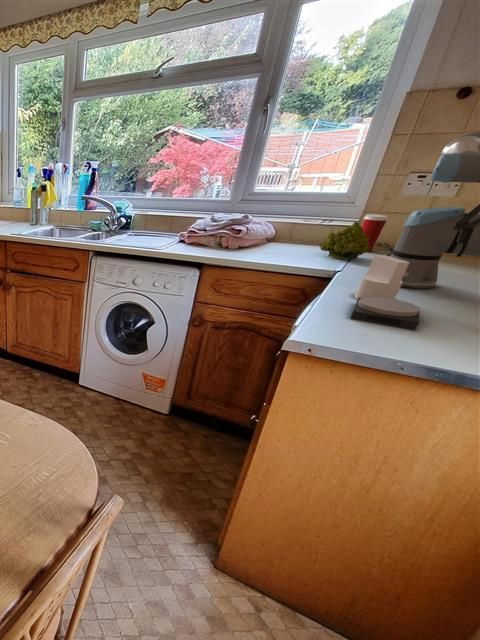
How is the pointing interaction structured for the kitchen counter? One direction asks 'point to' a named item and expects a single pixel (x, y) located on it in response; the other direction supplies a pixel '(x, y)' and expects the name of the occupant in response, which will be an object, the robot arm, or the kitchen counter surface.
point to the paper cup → (373, 227)
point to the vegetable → (347, 243)
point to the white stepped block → (382, 278)
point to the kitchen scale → (386, 312)
